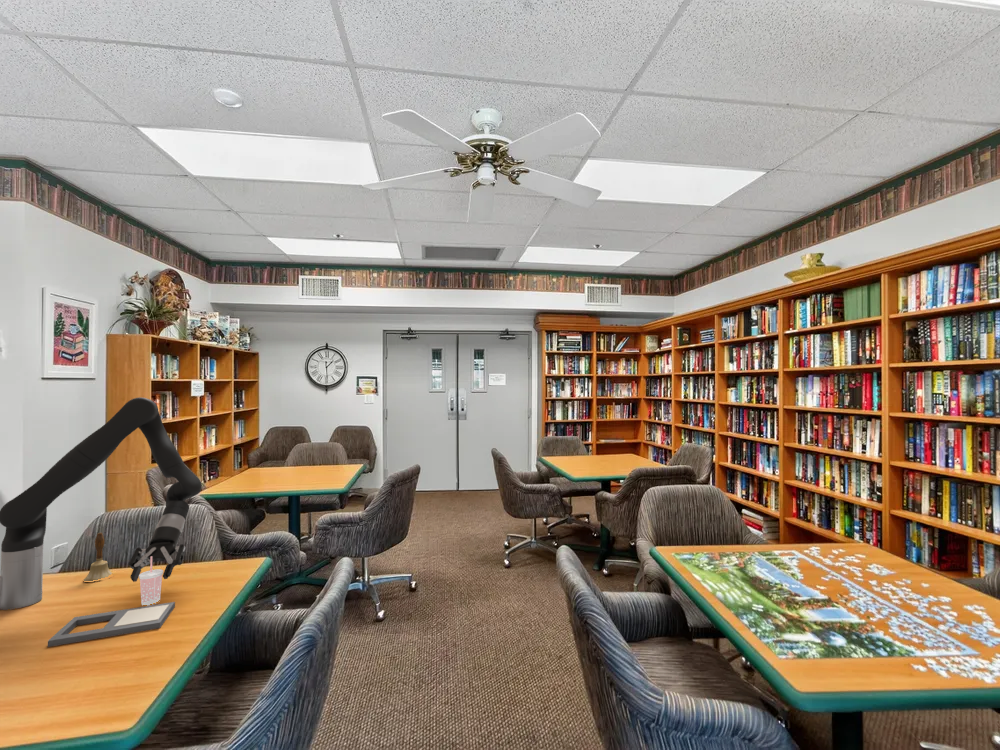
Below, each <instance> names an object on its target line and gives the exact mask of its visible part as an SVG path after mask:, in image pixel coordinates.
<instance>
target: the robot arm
mask: <svg viewBox="0 0 1000 750" xmlns="http://www.w3.org/2000/svg"><path fill="white" fill-rule="evenodd" d="M137 429H139V430H140V431H141V432H142V435H143V436H144V437H145V439H146V442H147V443H148V446H149V448H150V451H151V454H152V456H153V459H154V461H155V463H156V465H157V466H158V468H159V471H160V472H161V474H162V475H163V477H165V478H167V479H168V478H169V479H170V478H174V479H175V480H177V482H174V483H173V484H171V486H170V487H169V488H168V490H167V492H166V498H165V508H164V510H163V511H162V512H163V513H162V514H161V517H160V518H159V520H158V523H157V524H156V526H155V529H154V532H153V534H152V536H151V539H150V542H149V545H148V546H147V547H146V548H141V547H140V546H139V547H136V549H135V551H134V552H133V554H132V556H131V558H130V560H129V562H128V566H129V567H130V568H131V569H132V571H131V574H130V579H131V581H132V582H133V583H136V582H138V580H139V574H141V573H142V569H143V568H145V567H146V566H148V565H150V557H151V556H152V563H156V562H157V563H158V562H164V561H166V562H167V564H166V566H165V568H164V570H163V574H162V579H164V580H168V579H169V578H170V577H171V576H172V572H173V570H174V567H175V566H181V565H182V564H183V561H184V557H185V554H186V551H187V548H186V546H185V545H184V544H183V543H182V544H179V540H180V537H181V535H182V532H183V531H184V527H185V522H186V519H187V516H188V514H189V511H190V504H189V503H188V502H187V499H188V500H189V499H191V498H193V497H196V496H197V495H199V494H200V493H201V492H202V491H201V490H202V487H203V485H202V482H201V480H200V478H199V477H198V476H197V475H196V474H195V473H194V472H193V471H192V470H191V469H190V468H189V467H188V466H187V465H186V464H185V462H184V460H183V459H182V457H181V455H180V453H179V451H178V450H177V448H176V446H175V444H174V443H173V441H172V440H171V438H170V436H169V435H168V432H167V430H166V428H165V427H164V423H163V421H162V417H161V415H160V412H159V406H158V405H157V403H156V402H154V400H152V399H150V398H146V397H135V398H131V399H130V400H128V401H127V402H126V403H125V404H123V406H122V407H121V408H120V409H119V410H118V411H117V412H116V413H115V414H114V415H113V416H112V417H111V418H109V420H108V421H107V422H106V423H104V425H102V426H101V427H99V428H98V429H97V430H95V431H94V432H93V433H91V434H89V435H88V436H87V437H85V438H84V439H83V440H81V441H80V442H79V443H78V444H77V445H75V446H74V447H73V448H72V449H70V450H69V451H68V452H67V453H65V455H63V456H62V457H61V458H60V459H59V460H58V461H57V462H56V463H55V464H54V465H52V467H51V468H49V469H48V470H47V471H46V472H45V473H44V475H42V476H41V477H40V478H39V479H38V480H37V481H35V483H34V484H32V485H31V486H29V487H28V488H27V489H26V490H24V491H22V492H21V493H19V494H17V496H15V497H14V498H12V499H11V500H9V501H8V502H6V503H4V505H3V506H2V507H1V508H0V524H1V526H3V527H5V534H4V538H3V540H2V542H1V548H0V549H1V554H0V555H1V556H0V557H1V558H0V610H2V611H3V610H4V611H8V609H10V610H15V608H16V609H21V608H25V607H28V606H31V605H35V604H37V603H39V602H41V600H43V572H44V569H43V568H44V539H45V535H46V529H47V515H48V513H47V512H48V511H47V509H48V507H49V506H50V505H51V504H52V503H53V502H54V501H55V500H56V499H57V498H58V497H60V495H62V494H63V493H65V492H66V491H68V490H69V489H71V488H72V487H73V486H75V485H77V484H78V483H80V482H81V481H82V480H83V479H85V478H86V477H88V476H89V475H90V474H92V473H93V472H94V471H95V470H96V469H97V468H99V467H100V465H102V464H103V463H104V462H105V461H106V460H107V459H108V458H109V457H110V456H111V455H112V454H113V453H114V452H115V450H116V449H117V448H118V447H119V446H120V444H121V443H122V442H123V441H124V440H125V438H127V437H128V436H129V435H130V434H132V433H133V432H135V430H137ZM178 544H179V545H178ZM177 545H178V546H177ZM176 552H177V553H176ZM174 553H176V557H175V559H173V558H172V555H173V554H174Z"/></svg>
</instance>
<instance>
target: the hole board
mask: <svg viewBox="0 0 1000 750" xmlns="http://www.w3.org/2000/svg"><path fill="white" fill-rule="evenodd" d="M175 607H176V602H175V601H171V602H165V603H156V604H152V605H147V606H140V607H139V606H138V607H132V608H125V609H121V610H120V609H119V610H118V609H117V610H113V611H107V612H100V613H94V614H93V613H92V614H86V615H81V616H74V617H73V618H72V619H70V620H69V621H68V622H67V623H66V624H65V625H64V626H63V627H62V628H60V630H58V631H57V632H56V633H55V634H53V636H52V637H50V638H49V639H48V640H47V648H50V647H56V646H61V645H69V644H74V643H79V642H87V641H92V640H96V639H97V640H98V639H104V638H109V637H115V636H121V635H126V634H128V635H129V634H132V633H139V632H144V631H145V632H146V631H150V630H157V629H161V628H162V626H164V625H163V624H164V623H165V622H166V620H167V619H168V618H169V616H170V615H171V614H172V612H173V610H174V608H175ZM101 622H107V623H106V625H105V626H104V627H102V628H96V629H91V630H90V629H89V630H83V631H78V632H77V631H76V632H72V633H71V631H73V630H74V629H75V628H76V627H77V626H81V625H88V624H94V623H101Z"/></svg>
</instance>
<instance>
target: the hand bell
mask: <svg viewBox="0 0 1000 750" xmlns="http://www.w3.org/2000/svg"><path fill="white" fill-rule="evenodd" d="M104 537H105V536H104V534H103V532H97V534H96V537H95V540H94V547H95V549H96V557H95V558H96V559H95V560H96V561H94V562H93V563H91V565H90V568H89V571H88V573H87V576H86V577H84V578H83V580H84V581H93V580H98V579H101V578H105V577H108V576H109V575H111V574H112V573H113V572H112V571H111V570H110V569H109V565H108V564H109V563H108V561H107V560H103V556H104V555H103V549H104V547H105V538H104Z"/></svg>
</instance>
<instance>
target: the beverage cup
mask: <svg viewBox="0 0 1000 750" xmlns="http://www.w3.org/2000/svg"><path fill="white" fill-rule="evenodd" d="M149 567H150V569H149V570H146V571H143V572H140V574H139V577H138V580H139V582H140V583H139V584H140V585H139V587H140V601H141V606H143V605H147V606H151V605H150V604H152V605H154V604H153V603H155V604H157V603H156V602H158V601H159V600H160V601H161V592H162V583H163V582H162V579H163V574H164V570H163V569H153V562H152V556H151V557H150V564H149ZM160 601H159V602H160ZM159 602H158V603H159Z"/></svg>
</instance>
